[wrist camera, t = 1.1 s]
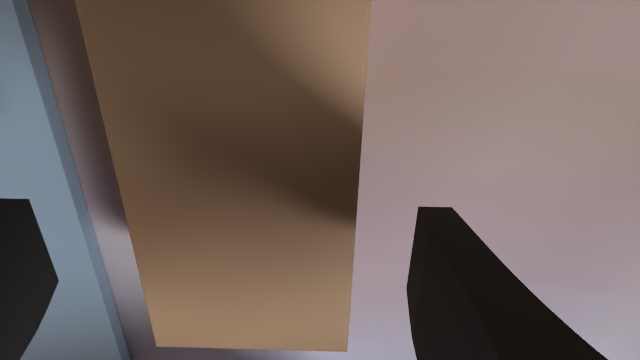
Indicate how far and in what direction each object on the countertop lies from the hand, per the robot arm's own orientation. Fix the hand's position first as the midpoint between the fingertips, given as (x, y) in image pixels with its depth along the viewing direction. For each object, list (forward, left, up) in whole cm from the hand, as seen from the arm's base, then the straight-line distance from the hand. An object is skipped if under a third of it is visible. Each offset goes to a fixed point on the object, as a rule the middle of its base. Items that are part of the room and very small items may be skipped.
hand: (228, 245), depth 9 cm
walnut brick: (0, 0, -5) cm, 5 cm away
